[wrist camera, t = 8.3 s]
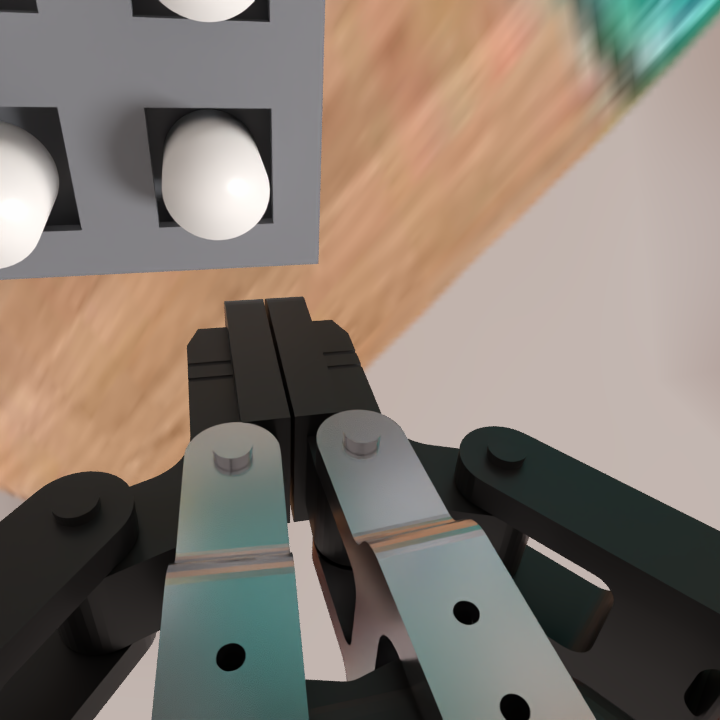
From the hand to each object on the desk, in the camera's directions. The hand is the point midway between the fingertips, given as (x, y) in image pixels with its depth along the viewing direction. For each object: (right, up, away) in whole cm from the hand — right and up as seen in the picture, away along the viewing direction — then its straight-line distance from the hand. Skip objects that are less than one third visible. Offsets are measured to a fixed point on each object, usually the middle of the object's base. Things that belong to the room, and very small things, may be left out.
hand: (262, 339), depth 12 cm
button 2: (-11, +6, +10) cm, 17 cm away
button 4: (-4, +8, +13) cm, 16 cm away
